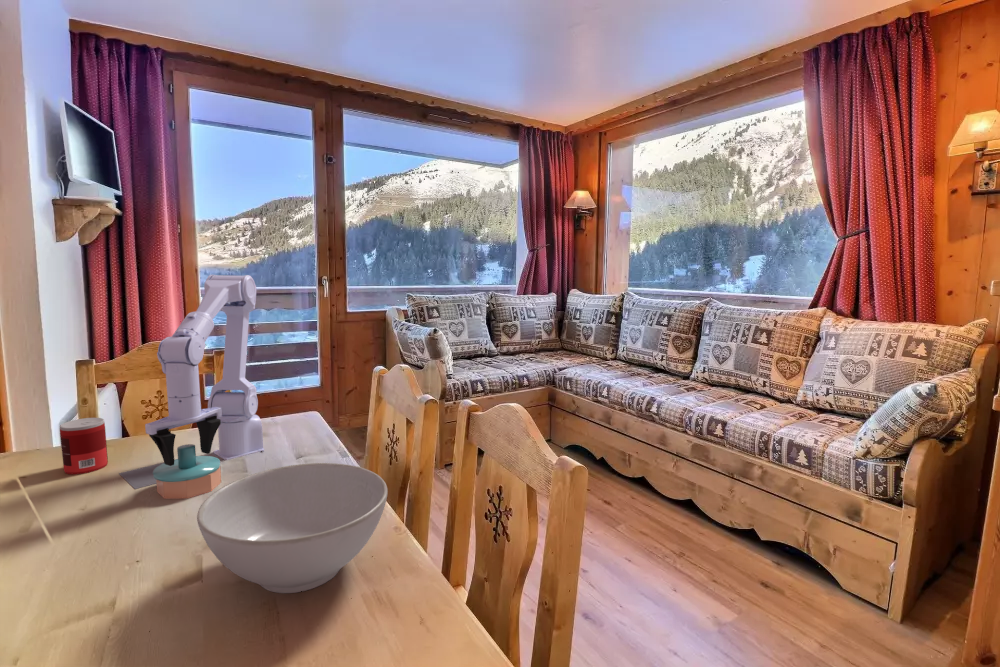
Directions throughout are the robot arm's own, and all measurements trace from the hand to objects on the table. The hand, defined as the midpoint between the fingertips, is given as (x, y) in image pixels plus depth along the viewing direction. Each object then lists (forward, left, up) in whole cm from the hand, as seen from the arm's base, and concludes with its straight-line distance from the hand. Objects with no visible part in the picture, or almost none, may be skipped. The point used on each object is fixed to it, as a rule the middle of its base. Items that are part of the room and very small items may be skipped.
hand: (188, 458), depth 108 cm
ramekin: (0, 0, -7) cm, 7 cm away
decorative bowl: (-1, +44, -7) cm, 45 cm away
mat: (+2, -13, -7) cm, 15 cm away
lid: (0, 0, -3) cm, 3 cm away
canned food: (+12, -28, -7) cm, 31 cm away
